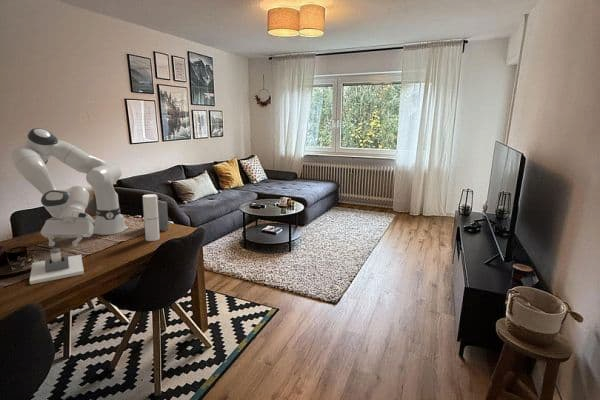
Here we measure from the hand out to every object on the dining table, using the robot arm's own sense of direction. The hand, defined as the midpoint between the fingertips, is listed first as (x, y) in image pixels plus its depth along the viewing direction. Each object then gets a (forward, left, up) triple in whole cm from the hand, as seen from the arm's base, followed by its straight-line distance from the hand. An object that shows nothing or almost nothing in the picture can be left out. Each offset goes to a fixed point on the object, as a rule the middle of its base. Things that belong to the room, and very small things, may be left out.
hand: (62, 245), depth 144 cm
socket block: (+3, -3, -10) cm, 11 cm away
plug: (+3, -3, -8) cm, 9 cm away
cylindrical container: (-17, +40, -10) cm, 45 cm away
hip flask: (-34, +46, -10) cm, 58 cm away
